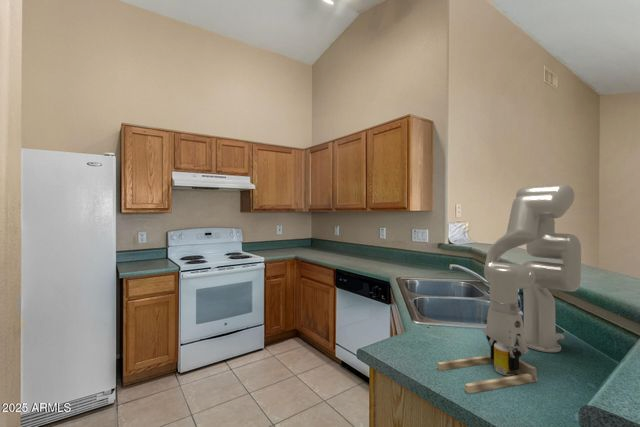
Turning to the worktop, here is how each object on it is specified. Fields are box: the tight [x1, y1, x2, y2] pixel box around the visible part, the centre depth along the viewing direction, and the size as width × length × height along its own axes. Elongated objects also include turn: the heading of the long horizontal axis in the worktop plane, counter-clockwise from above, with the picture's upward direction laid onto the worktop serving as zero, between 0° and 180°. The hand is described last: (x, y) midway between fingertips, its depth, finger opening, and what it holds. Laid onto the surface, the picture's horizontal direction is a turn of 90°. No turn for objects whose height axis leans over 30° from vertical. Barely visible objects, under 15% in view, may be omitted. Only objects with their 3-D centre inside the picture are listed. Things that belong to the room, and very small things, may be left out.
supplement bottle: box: [493, 341, 516, 377], centre depth 91 cm, size 6×6×10 cm
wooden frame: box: [436, 354, 538, 394], centre depth 89 cm, size 24×13×4 cm, turn 104°
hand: (504, 363), depth 91 cm, fingers open, 6 cm apart
